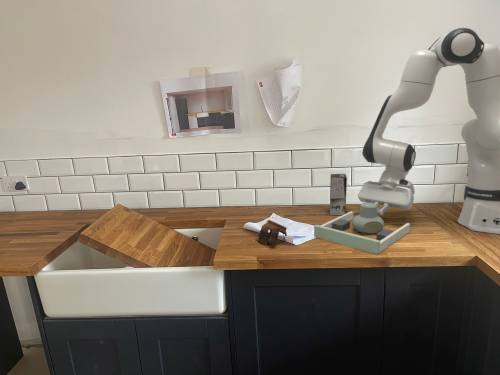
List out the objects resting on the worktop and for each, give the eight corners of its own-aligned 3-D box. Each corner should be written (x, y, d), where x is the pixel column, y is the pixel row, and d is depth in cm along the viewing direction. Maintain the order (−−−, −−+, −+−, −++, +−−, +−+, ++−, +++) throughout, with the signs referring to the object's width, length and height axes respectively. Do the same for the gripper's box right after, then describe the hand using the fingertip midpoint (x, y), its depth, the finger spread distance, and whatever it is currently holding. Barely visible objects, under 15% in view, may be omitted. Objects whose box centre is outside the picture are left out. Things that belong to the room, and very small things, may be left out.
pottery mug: (254, 238, 122) (263, 217, 123) (278, 249, 123) (287, 227, 124) (258, 243, 110) (268, 219, 111) (285, 254, 111) (295, 231, 112)
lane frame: (409, 231, 123) (410, 220, 122) (377, 254, 105) (377, 242, 104) (350, 218, 139) (351, 208, 138) (314, 236, 121) (314, 225, 120)
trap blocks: (395, 238, 117) (395, 231, 116) (387, 243, 113) (388, 236, 112) (340, 225, 131) (340, 219, 131) (331, 229, 127) (332, 223, 127)
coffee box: (345, 215, 143) (347, 177, 139) (329, 215, 144) (330, 177, 140) (344, 209, 151) (345, 173, 148) (329, 208, 153) (330, 173, 149)
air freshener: (357, 236, 120) (358, 208, 118) (348, 228, 129) (349, 202, 126) (387, 234, 121) (389, 207, 119) (377, 226, 129) (378, 200, 127)
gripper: (363, 176, 139) (350, 204, 135) (415, 182, 125) (403, 214, 121) (367, 185, 143) (355, 212, 139) (419, 192, 129) (407, 223, 125)
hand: (377, 213), depth 130 cm, fingers closed
